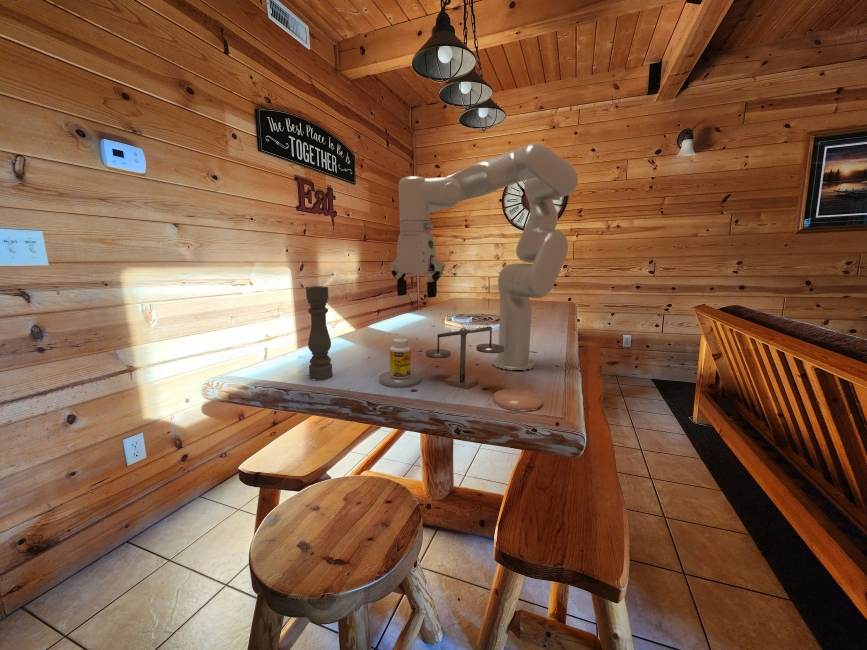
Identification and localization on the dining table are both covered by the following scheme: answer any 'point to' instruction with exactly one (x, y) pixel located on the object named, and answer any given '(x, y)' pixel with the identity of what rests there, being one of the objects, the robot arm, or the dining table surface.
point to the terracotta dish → (517, 399)
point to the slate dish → (399, 380)
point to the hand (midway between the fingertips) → (416, 296)
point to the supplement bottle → (400, 359)
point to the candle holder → (319, 333)
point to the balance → (464, 355)
